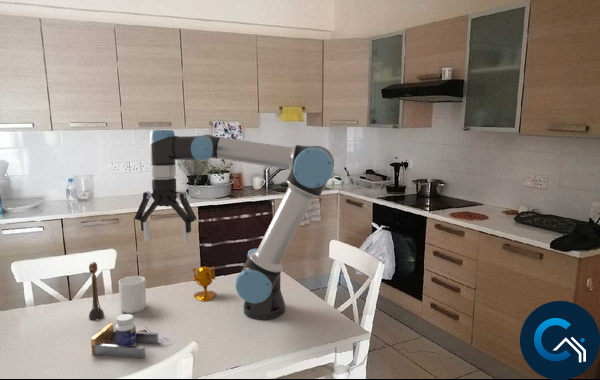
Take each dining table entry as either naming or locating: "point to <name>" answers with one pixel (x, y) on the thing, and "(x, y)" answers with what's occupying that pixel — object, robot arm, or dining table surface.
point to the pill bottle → (125, 330)
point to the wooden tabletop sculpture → (95, 295)
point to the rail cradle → (108, 334)
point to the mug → (132, 294)
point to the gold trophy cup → (204, 283)
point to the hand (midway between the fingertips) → (166, 241)
